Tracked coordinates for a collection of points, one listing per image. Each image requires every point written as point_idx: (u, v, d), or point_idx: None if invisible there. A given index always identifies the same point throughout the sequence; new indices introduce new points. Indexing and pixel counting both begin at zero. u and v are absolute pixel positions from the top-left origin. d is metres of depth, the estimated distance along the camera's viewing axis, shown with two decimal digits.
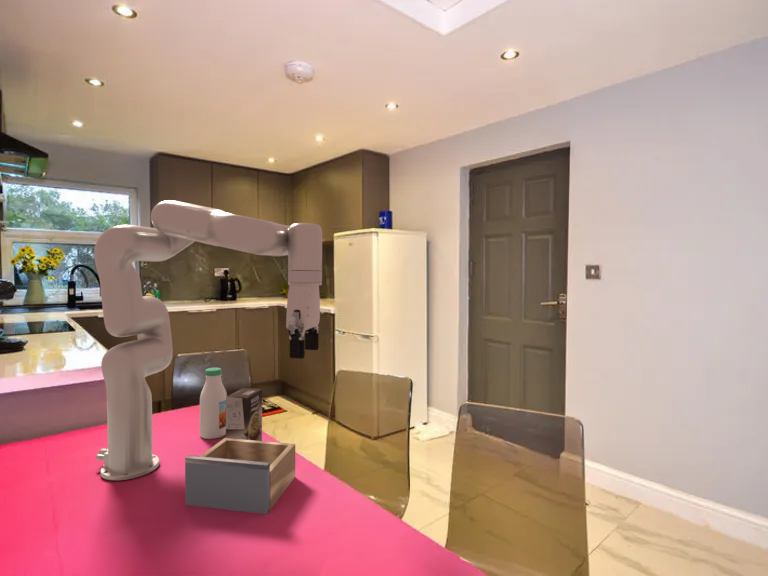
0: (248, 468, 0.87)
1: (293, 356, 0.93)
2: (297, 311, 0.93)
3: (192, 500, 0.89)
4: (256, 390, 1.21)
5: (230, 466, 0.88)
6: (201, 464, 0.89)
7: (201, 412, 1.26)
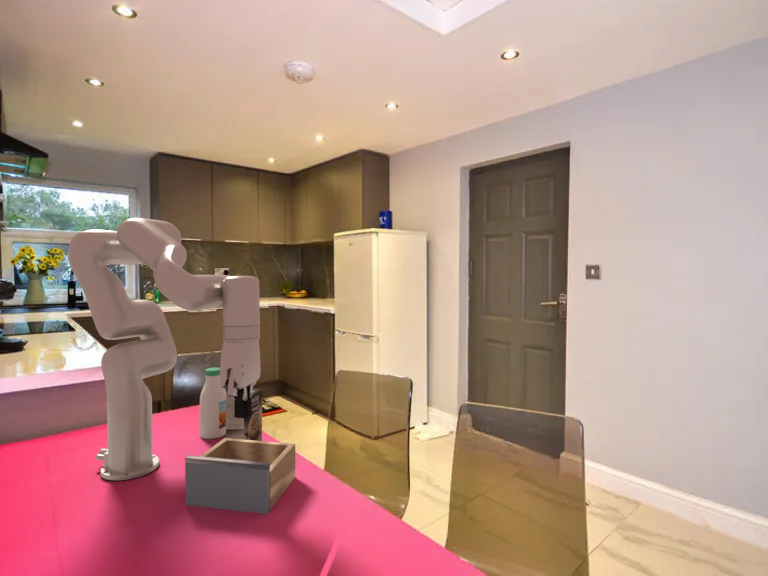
0: (248, 468, 0.87)
1: (238, 416, 0.93)
2: (232, 374, 0.89)
3: (192, 500, 0.89)
4: (256, 390, 1.21)
5: (230, 466, 0.88)
6: (201, 464, 0.89)
7: (201, 412, 1.26)
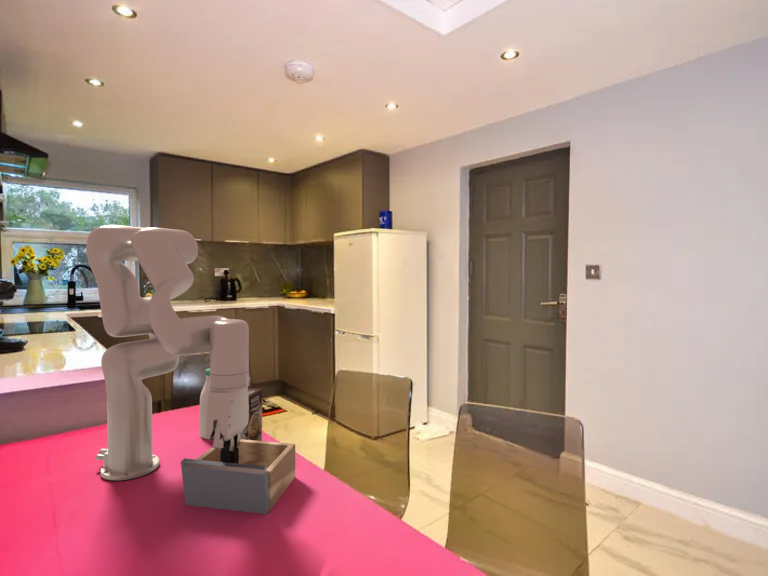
0: (245, 472, 0.86)
1: None
2: (218, 426, 0.85)
3: (192, 501, 0.89)
4: (256, 390, 1.21)
5: (227, 470, 0.86)
6: (197, 468, 0.87)
7: (201, 412, 1.26)
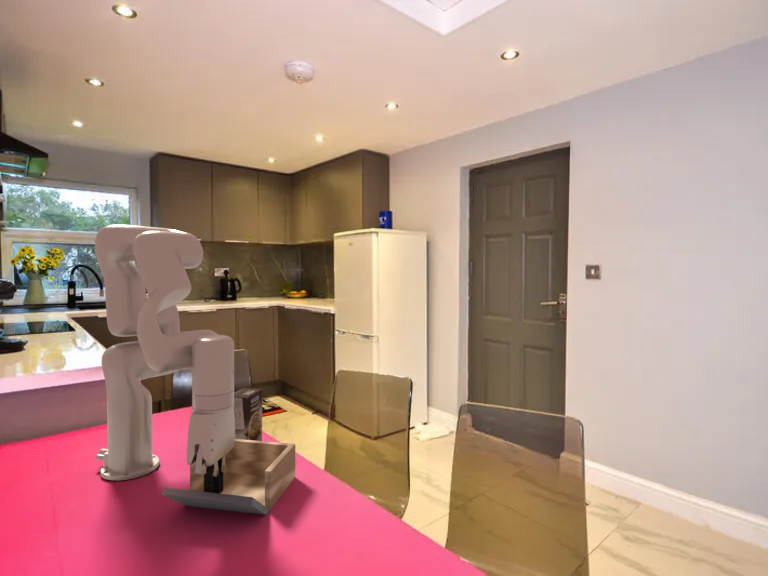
0: (231, 503, 0.81)
1: None
2: (200, 450, 0.79)
3: (190, 505, 0.89)
4: (256, 390, 1.21)
5: (212, 500, 0.81)
6: (181, 497, 0.82)
7: None
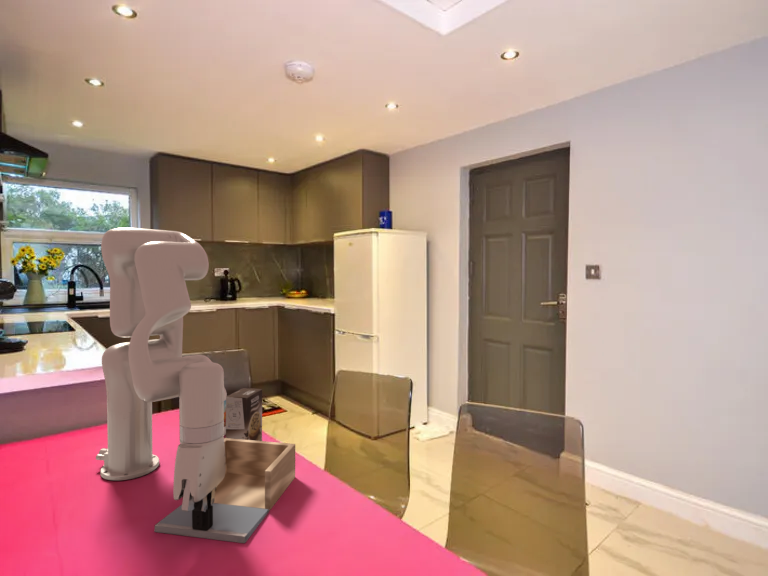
0: None
1: (196, 528, 0.79)
2: (188, 485, 0.75)
3: None
4: (256, 390, 1.21)
5: None
6: None
7: None
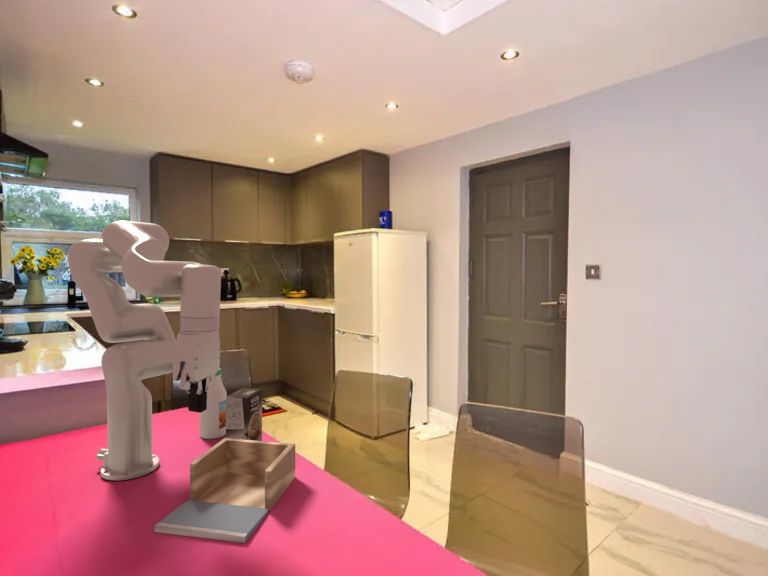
0: None
1: (191, 409, 0.90)
2: (185, 367, 0.85)
3: None
4: (256, 390, 1.21)
5: None
6: None
7: (201, 412, 1.26)
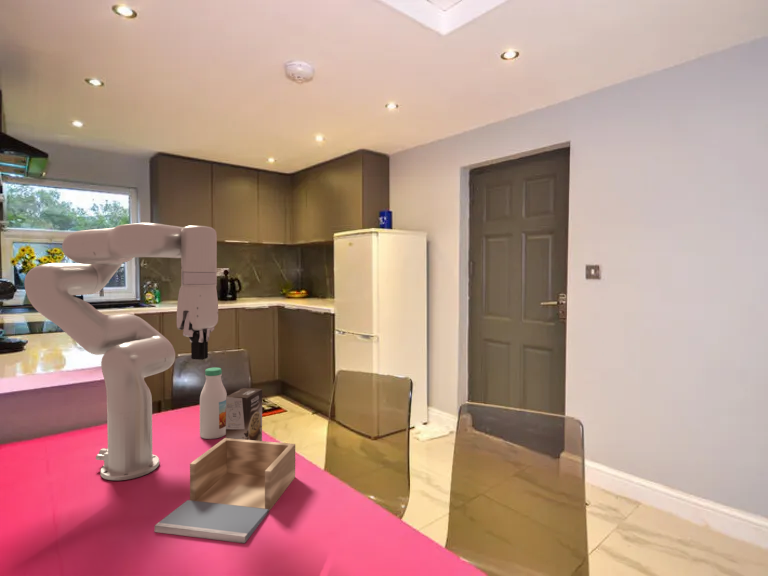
0: None
1: (194, 357, 1.00)
2: (188, 316, 0.96)
3: None
4: (256, 390, 1.21)
5: None
6: None
7: (201, 412, 1.26)
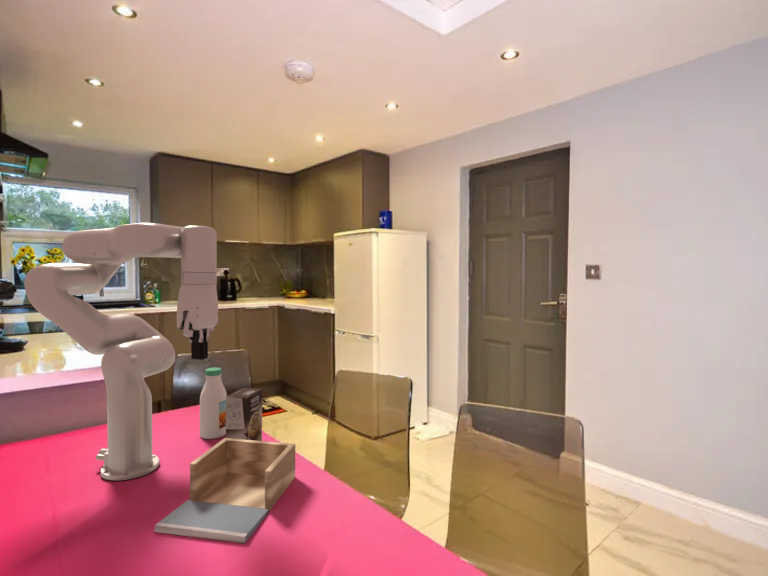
0: None
1: (194, 357, 1.00)
2: (188, 316, 0.96)
3: None
4: (256, 390, 1.21)
5: None
6: None
7: (201, 412, 1.26)
